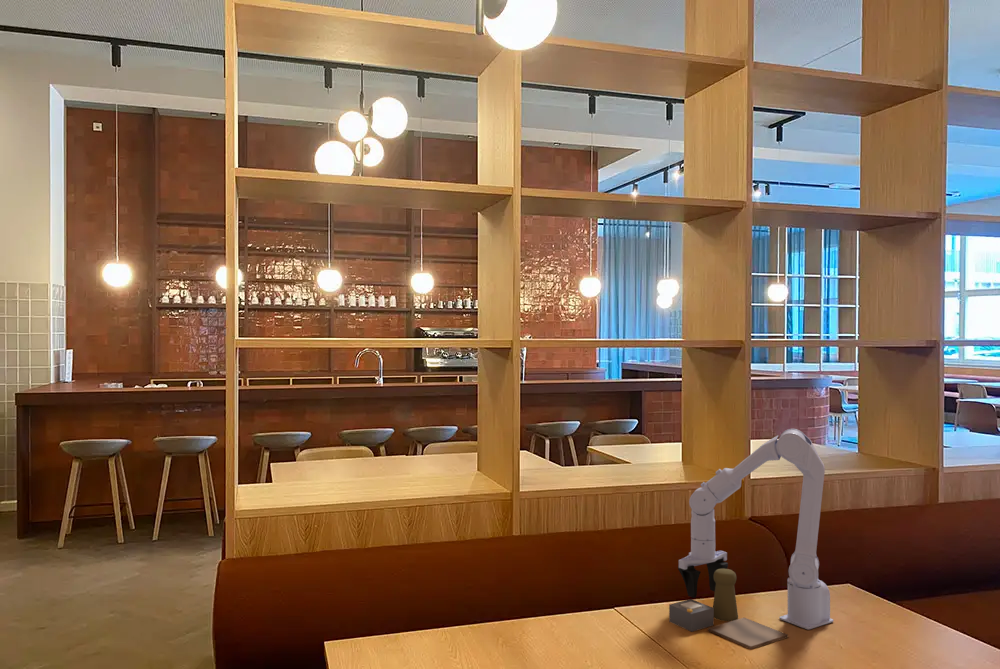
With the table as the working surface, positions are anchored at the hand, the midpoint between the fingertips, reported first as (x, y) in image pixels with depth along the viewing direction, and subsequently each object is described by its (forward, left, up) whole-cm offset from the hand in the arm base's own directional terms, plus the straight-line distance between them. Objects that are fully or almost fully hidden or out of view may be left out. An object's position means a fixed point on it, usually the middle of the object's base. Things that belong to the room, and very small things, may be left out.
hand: (703, 593), depth 187 cm
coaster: (+4, +17, -3) cm, 18 cm away
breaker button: (+10, +6, -2) cm, 12 cm away
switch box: (+10, +6, -3) cm, 12 cm away
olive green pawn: (0, +7, -4) cm, 8 cm away
